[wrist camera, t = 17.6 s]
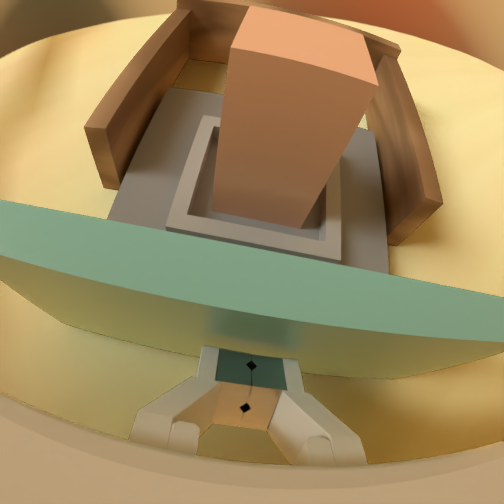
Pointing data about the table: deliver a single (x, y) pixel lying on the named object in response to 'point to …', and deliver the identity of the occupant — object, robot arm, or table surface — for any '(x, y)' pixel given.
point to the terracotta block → (287, 113)
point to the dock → (217, 50)
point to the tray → (242, 265)
